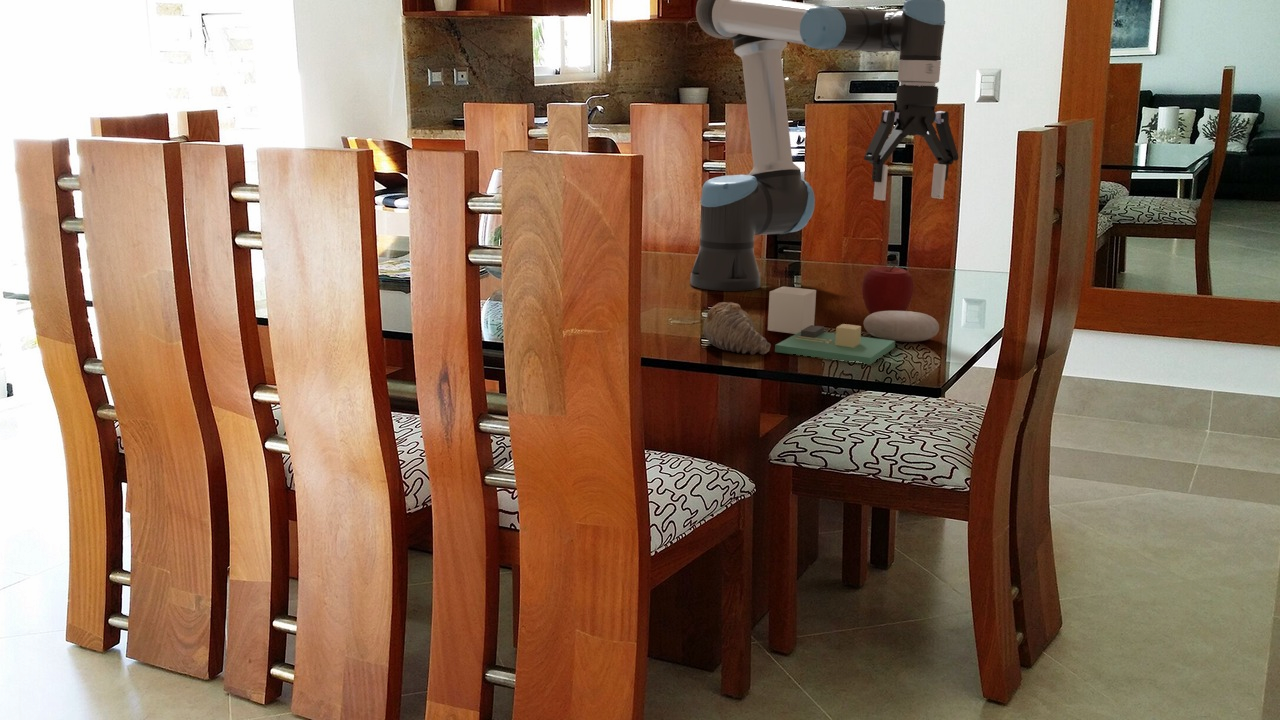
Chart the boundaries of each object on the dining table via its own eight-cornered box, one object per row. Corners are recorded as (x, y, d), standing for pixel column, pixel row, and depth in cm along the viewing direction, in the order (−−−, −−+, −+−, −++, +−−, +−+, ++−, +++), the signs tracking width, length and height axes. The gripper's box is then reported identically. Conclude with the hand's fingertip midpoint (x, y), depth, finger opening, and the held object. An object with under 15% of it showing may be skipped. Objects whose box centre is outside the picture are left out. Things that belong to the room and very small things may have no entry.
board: (774, 352, 182) (776, 326, 181) (804, 336, 194) (805, 312, 193) (870, 365, 174) (872, 339, 173) (894, 347, 186) (896, 323, 185)
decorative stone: (860, 342, 190) (862, 314, 189) (865, 332, 199) (867, 304, 197) (936, 349, 187) (939, 320, 186) (938, 338, 195) (941, 310, 194)
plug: (767, 330, 197) (769, 291, 196) (781, 323, 203) (783, 286, 202) (801, 334, 195) (803, 295, 193) (814, 327, 200) (817, 289, 199)
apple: (881, 324, 204) (885, 271, 202) (849, 314, 213) (853, 263, 210) (921, 320, 209) (925, 268, 206) (888, 311, 217) (892, 260, 214)
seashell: (720, 358, 193) (698, 306, 192) (774, 337, 191) (752, 284, 190) (715, 375, 180) (691, 319, 179) (773, 353, 178) (749, 296, 177)
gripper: (875, 83, 198) (866, 202, 203) (984, 86, 208) (973, 199, 213) (850, 82, 204) (842, 198, 210) (957, 85, 215) (947, 195, 220)
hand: (908, 199), depth 211 cm, fingers open, 13 cm apart
